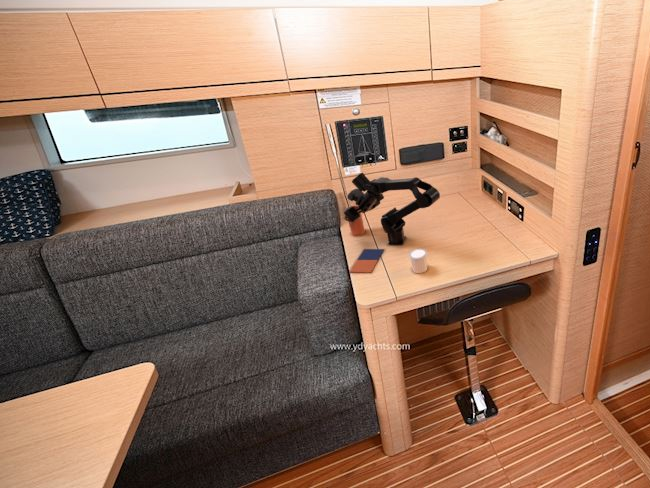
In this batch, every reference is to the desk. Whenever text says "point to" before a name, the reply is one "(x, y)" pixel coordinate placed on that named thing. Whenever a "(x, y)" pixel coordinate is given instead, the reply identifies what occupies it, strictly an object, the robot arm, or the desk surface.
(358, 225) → the terracotta cup
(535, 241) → the desk surface
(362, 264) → the sorting mat
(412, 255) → the shot glass
